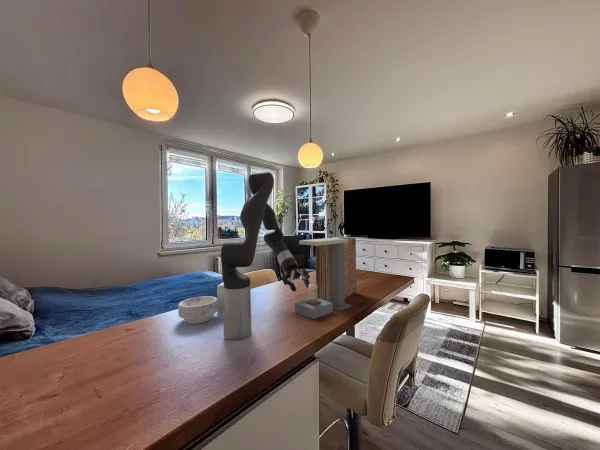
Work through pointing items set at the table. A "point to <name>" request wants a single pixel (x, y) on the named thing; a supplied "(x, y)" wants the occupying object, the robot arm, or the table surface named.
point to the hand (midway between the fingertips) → (302, 289)
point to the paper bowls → (198, 309)
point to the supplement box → (220, 298)
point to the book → (325, 269)
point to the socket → (313, 308)
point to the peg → (313, 294)
